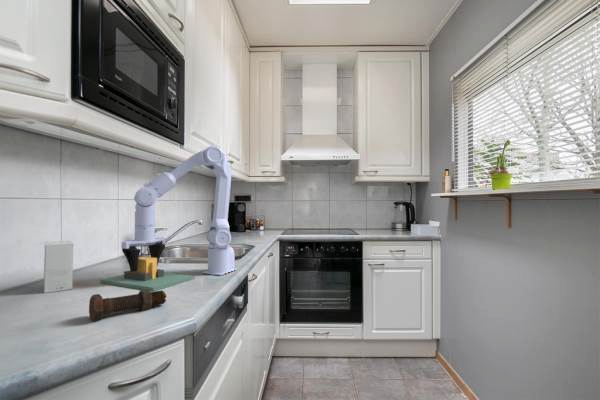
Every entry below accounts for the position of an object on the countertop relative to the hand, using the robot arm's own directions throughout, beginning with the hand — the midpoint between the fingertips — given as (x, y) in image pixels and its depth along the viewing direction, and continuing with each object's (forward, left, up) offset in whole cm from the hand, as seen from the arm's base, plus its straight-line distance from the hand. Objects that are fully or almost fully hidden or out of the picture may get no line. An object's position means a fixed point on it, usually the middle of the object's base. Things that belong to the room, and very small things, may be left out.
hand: (144, 268), depth 100 cm
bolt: (+22, +22, -4) cm, 31 cm away
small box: (+17, -14, -4) cm, 22 cm away
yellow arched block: (0, 0, -3) cm, 3 cm away
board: (0, +2, -4) cm, 4 cm away
